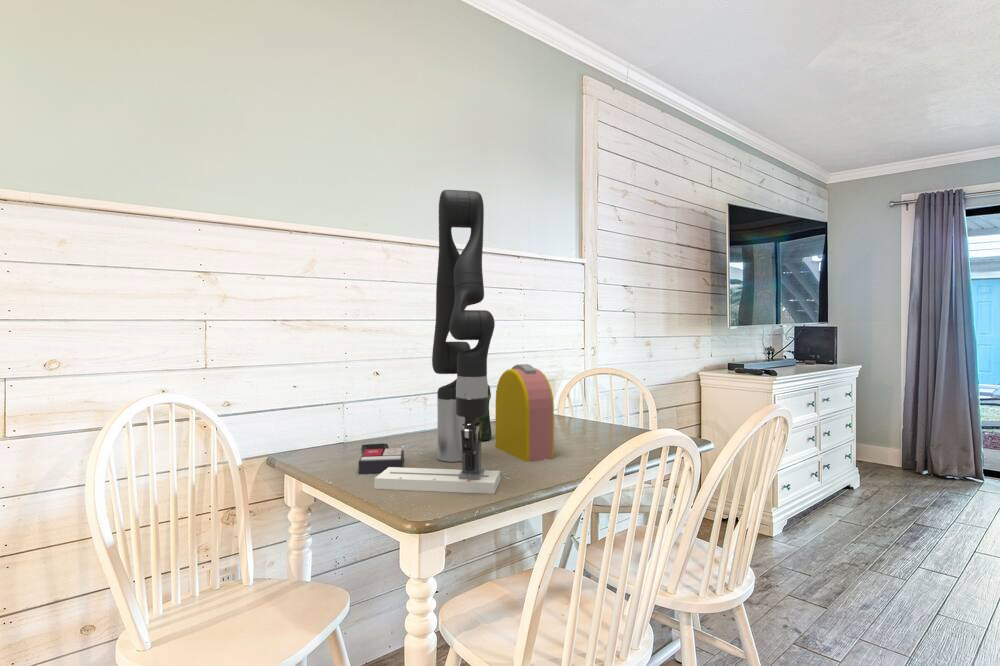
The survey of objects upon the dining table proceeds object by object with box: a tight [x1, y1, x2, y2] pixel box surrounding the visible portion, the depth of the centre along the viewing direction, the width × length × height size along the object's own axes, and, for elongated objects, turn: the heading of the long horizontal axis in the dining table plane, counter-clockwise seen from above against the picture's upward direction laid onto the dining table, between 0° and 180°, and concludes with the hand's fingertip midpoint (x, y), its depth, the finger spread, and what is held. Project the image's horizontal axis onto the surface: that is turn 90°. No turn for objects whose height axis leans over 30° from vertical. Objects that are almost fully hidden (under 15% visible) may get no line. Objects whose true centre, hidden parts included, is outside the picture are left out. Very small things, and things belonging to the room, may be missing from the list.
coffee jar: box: [479, 384, 492, 442], centre depth 181 cm, size 10×8×19 cm
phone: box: [361, 443, 390, 456], centre depth 164 cm, size 8×1×15 cm
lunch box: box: [495, 363, 555, 463], centre depth 163 cm, size 21×9×26 cm, turn 25°
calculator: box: [358, 447, 405, 475], centre depth 147 cm, size 11×4×15 cm
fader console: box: [373, 467, 501, 495], centre depth 130 cm, size 10×28×3 cm, turn 83°
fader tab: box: [459, 441, 485, 480], centre depth 129 cm, size 6×5×8 cm
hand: (471, 467), depth 129 cm, fingers open, 4 cm apart
